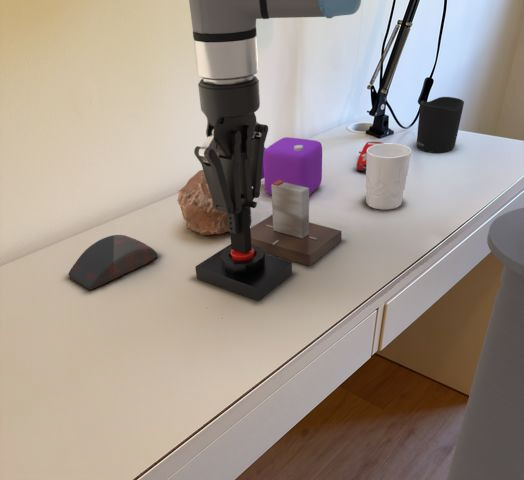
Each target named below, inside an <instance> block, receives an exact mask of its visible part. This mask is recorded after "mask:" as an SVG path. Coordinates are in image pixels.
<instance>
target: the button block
mask: <svg viewBox="0 0 524 480" xmlns="http://www.w3.org/2000/svg"><path fill="white" fill-rule="evenodd" d="M251 247H252V248H253V249H254V253H255V257H253V258H252V259H249V260H245V261H237V260H234V259H231V250H232V248H231V243H230V244H228V245H226V246H225V247H223V248H222V249H220V250H219V251H217V252H215V253H214V254H213V255H211V256H209V257H208V258H207V259H205V260H203V261H202V262H200V263H199V264H197V265H195V268H194V269H195V274H196V275H195V276H196V279H197V280H199V281H202V282H205V283H207V284H211V285H213V286H216V287H219V288H220V289H224V290H226V291H230V292H232V293H235V294H237V295H240V296H243V297H246V298H248V299H251V300H253V301H256V302H259V301H260V300H262V298H264V297H265V296H267V295H268V294H269V293H270V292H272V291H273V290H274V289H276V288H277V287H278V286H279V285H280V284H282V283H283V282H284V281H286V280H287V279H288V278H290V277H291V276H292V275H293V261H291V260H288V259H285V258H282V257H278V256H275V255H272V254H269V253H265V252H264V251H263V249H262V248H261V247H259V246H256V245H253V244H251Z"/></svg>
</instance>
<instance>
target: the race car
mask: <svg viewBox="0 0 524 480" xmlns="http://www.w3.org/2000/svg"><path fill="white" fill-rule="evenodd" d="M383 143H384V142H382V141H367V142H366V143H365V144H364V146H363V147H362V150H361V151H359V152H358V154H359V156H358V159H357V161H356V170H357V171H362V172H366V159H367V149H368V148H369V147H370V146H373V145H376V144H383Z"/></svg>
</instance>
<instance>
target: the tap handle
mask: <svg viewBox="0 0 524 480" xmlns="http://www.w3.org/2000/svg"><path fill="white" fill-rule="evenodd" d="M271 187H272V194H271V206H272V207H271V208H272V209H271V211H272V214H273V230H274V231H277V232H281V233H284V234H288V235H291V236H295V237H298V238H302V239H303V238H304V237H305V236H307V235H308V234H309V222H310V195H309V188H307V187H303V186H298V185H294V184H289V183H285V182H284V181H281V180H278V181H276V182H274V183H273V184H272V185H271Z"/></svg>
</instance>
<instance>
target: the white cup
mask: <svg viewBox="0 0 524 480" xmlns="http://www.w3.org/2000/svg"><path fill="white" fill-rule="evenodd" d="M382 143H383V144H376V145H373V146H370V147H369V148H368V149H367V159H366V171H365V188H366V189H365V191H366V192H365V197H366V198H365V203H366V205H367V206H369V207H370V208H373V209H377V210H387V211H388V210H394V209H397V208H399V207H400V206H402V203H403V196H404V192H405V190H406V184H407V177H408V173H409V168H410V161H411V155H412V149H411V148H410V147H409V146H407V145H404V144H401V143H395V142H394V143H392V142H391V143H390V142H387V143H386V142H382Z"/></svg>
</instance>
